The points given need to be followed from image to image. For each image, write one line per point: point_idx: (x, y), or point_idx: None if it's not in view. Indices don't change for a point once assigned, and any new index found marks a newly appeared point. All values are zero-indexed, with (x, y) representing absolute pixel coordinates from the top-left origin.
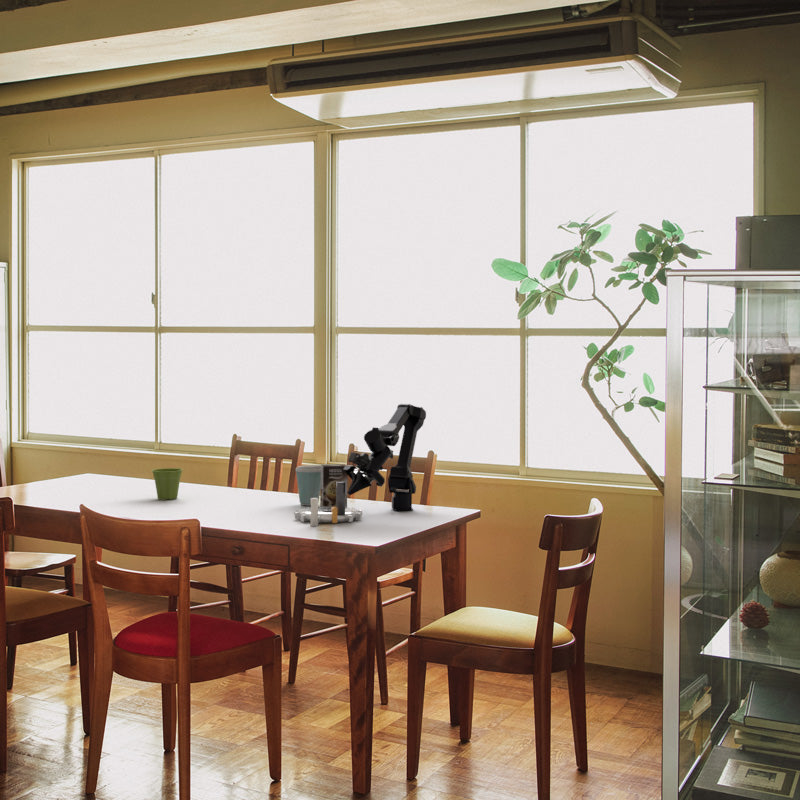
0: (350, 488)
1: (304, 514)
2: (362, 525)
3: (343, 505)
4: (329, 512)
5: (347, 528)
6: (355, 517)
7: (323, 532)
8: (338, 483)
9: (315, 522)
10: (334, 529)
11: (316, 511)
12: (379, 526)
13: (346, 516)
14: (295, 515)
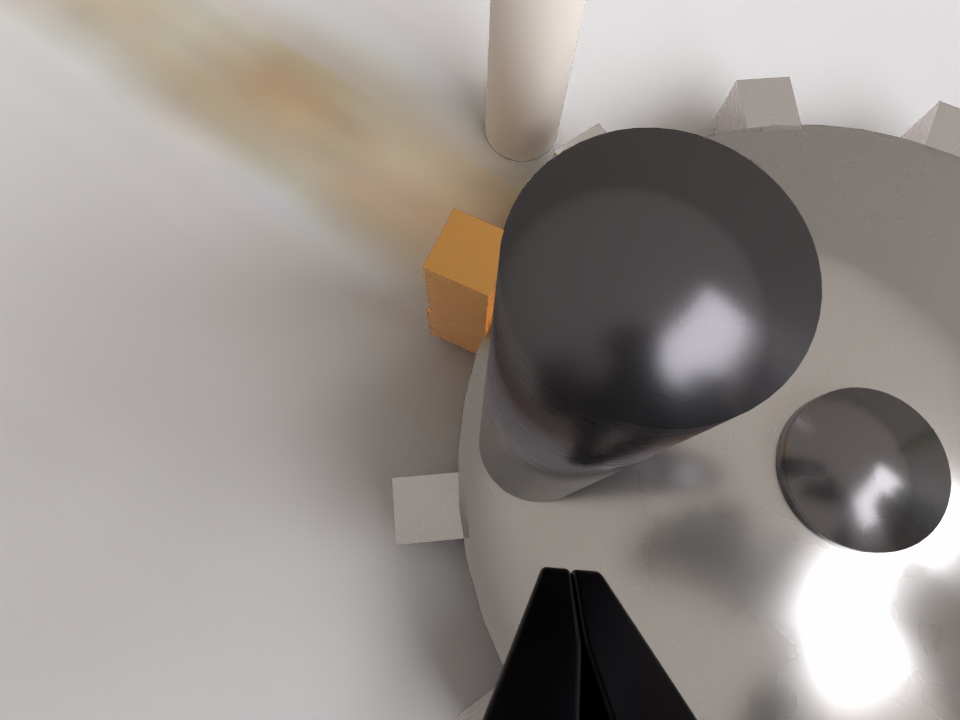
0: (588, 662)
1: (793, 121)
2: (201, 532)
3: (482, 421)
4: (769, 428)
5: (183, 292)
6: None
7: (191, 18)
8: (587, 154)
9: (486, 95)
10: (234, 166)
11: (491, 19)
12: (2, 663)
13: (450, 474)
14: (919, 121)
